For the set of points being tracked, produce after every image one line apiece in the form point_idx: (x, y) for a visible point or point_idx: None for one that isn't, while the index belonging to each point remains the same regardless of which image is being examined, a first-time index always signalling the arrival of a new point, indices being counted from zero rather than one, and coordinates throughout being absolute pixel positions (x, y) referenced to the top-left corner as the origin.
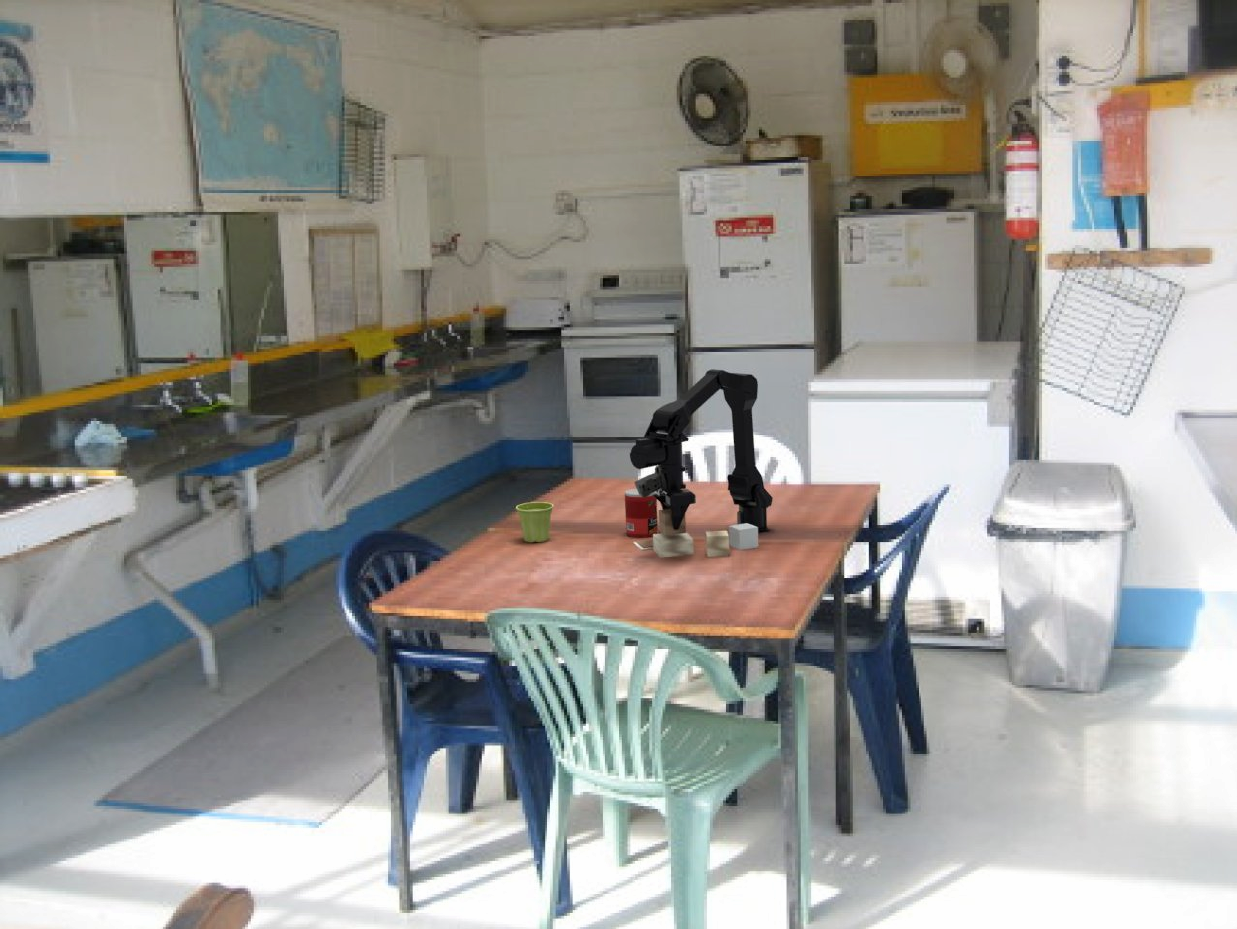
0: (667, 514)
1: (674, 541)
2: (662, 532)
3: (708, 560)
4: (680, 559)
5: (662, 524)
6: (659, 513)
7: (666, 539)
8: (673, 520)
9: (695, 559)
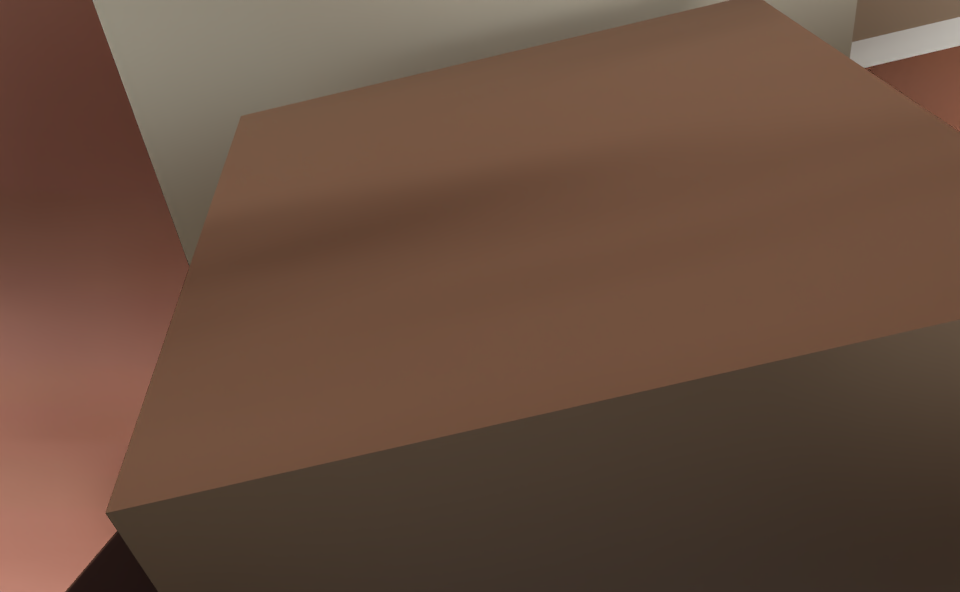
0: (163, 587)
1: (182, 232)
2: (494, 59)
3: (5, 480)
4: (31, 185)
5: (495, 152)
6: (943, 228)
7: (304, 94)
8: (103, 563)
9: (44, 360)
